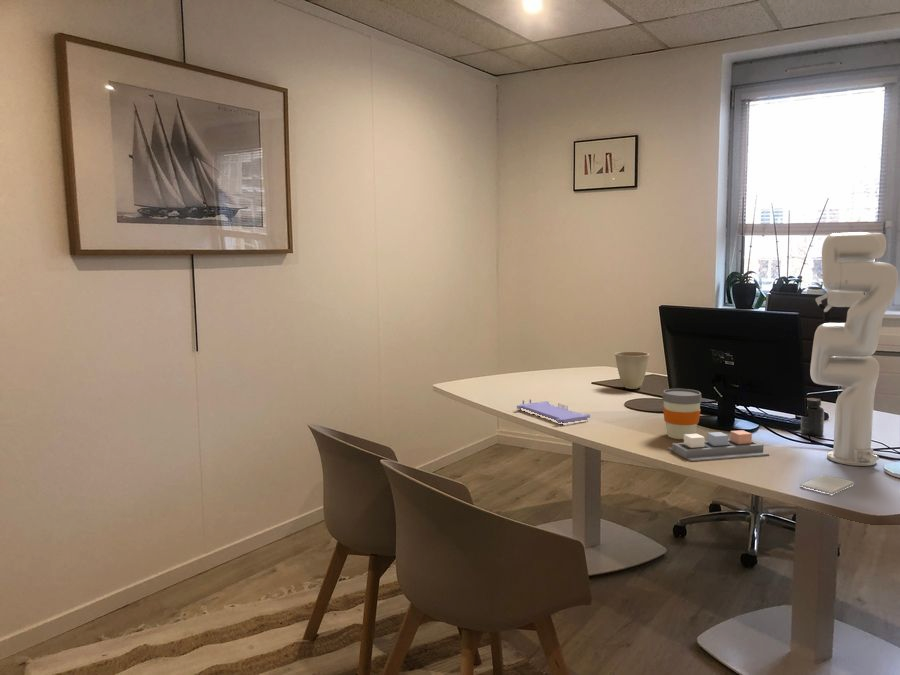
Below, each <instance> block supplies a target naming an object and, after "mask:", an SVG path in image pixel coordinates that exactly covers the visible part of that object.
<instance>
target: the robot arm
mask: <svg viewBox="0 0 900 675" xmlns="http://www.w3.org/2000/svg"><path fill="white" fill-rule="evenodd" d="M886 249H887V238H886V236H885V234H884V233H882V232H866V231H865V232H863V231H857V232H856V231H855V232H840V233H839V232H838V233H837V232H836V233H835V232H834V233H831V234H828V235H827V236H826V237H825V238H824V241H823V243H822V246H821V265H822V266H821V267H822V268H821V270H822V285H823V287H824V289H825V290H826V291H827V293H825V294H823V295H820V296H817V297H816V298H815V302H816V304H817V306H818V307H819V308H820V309H821V310H822V311H823V322H825V323H822V324H820V325H818V326H817V328H816V330H815V332H814V336H813V342H812V343H813V344H812V350H811V357H810V358H811V360H810V367H809V368H810V369H809V372H810V373H809V374H810V378H811V380H812V382H813V383H814V384H817V385H821V386H835V387H837V386H838V387H846V388H845V389H844V390H843V391H842V392H840V393H839V395H838V396H837V399H836V400H835V409H834V410H835V411H834V414H835V415H834V431H833V432H834V433H833V449H832V450H831V451H829V452H827V455H826V457H827V459H829V460H830V461H832V462H835V463H837V464H841V465H847V466H852V467H853V466H856V467H869V466H874V465H876V464H877V461H879V460H880V457H879V455H876V454H874V448H872V437H873V436H872V434H873V420H874V419H873V417H874V416H873V415H874V404H875V403H874V402H875V393H876V388H877V384H878V380H879V375H880V363H879V361H878V360H877V359H876V358H875V357H873V356H872V355H874V354H875V353H876V351H877V348H878V345H879V340H880V335H881V332H882V331H881V329H882V326H883V325H882V324H883V320H884V319H883V318H884V316H885V313H886V311H887V309H888V308H889V306H890V304H891V302H892V301H893V299H894V297H895V295H896V291H897V288H898V282H899V271H898V269H897V267H896V266H895V265H893V264H892V263H889V262H883V261H873V260H875V259H880V258H882V257H883V256H884V254H885V253H886ZM865 293H866V294H865ZM825 299H826V301H827V304H826V305H824V304H823V303H822V301H823V300H825ZM833 307H834V308H835V307H836V308H848V310H847V313H846V321H845V322H830V309H832V308H833Z"/></svg>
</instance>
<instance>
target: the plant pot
mask: <svg viewBox="0 0 900 675" xmlns="http://www.w3.org/2000/svg"><path fill="white" fill-rule="evenodd" d="M614 356H615V361H616V362H615V363H616V366H617V367H616V368H617V371H618V375H619V378H620V379H619V380H620V381H621V382H620V383H621V384H622V387H623V386H628V387H639V386H641V387H642V385H643V382H644V379H645V376H646V372H647V369H648V365H649V359H650V353H648V352H643V351H618V352H615V353H614Z"/></svg>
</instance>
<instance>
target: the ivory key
mask: <svg viewBox="0 0 900 675" xmlns="http://www.w3.org/2000/svg"><path fill="white" fill-rule="evenodd" d="M705 438H706V437H705V436H703V435H701V434H699V433H695V434H684V439H683V443H684V444H685V445H687V446H689V447H691V448H695V447H704V443H705V441H706V440H705Z"/></svg>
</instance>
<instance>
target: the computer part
mask: <svg viewBox="0 0 900 675" xmlns="http://www.w3.org/2000/svg"><path fill="white" fill-rule="evenodd" d="M557 404H558V405H557V406H555V405H554V404H552V403H549V401H538V402H537V401H536V402H532V399H529V402H528V403H525V400H522V404H519V405H516V409H517V410H520V409H521V408H523V409H526V410H529V411H531V412H534V413H537V414H539V415H542V416H545V417H548V418H551V419H554V420H556V421H557V422H558V423H561V422H562V423H568V422H575V421H581V420H587V421H588V419H590V418H591V414H589V413H587V414H585V413H584V414H582V413H580V412H576V411H572V410H569V408H568V405H566V408H565V404H562V403H561V407H560V403H559V402H558V403H557Z"/></svg>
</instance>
